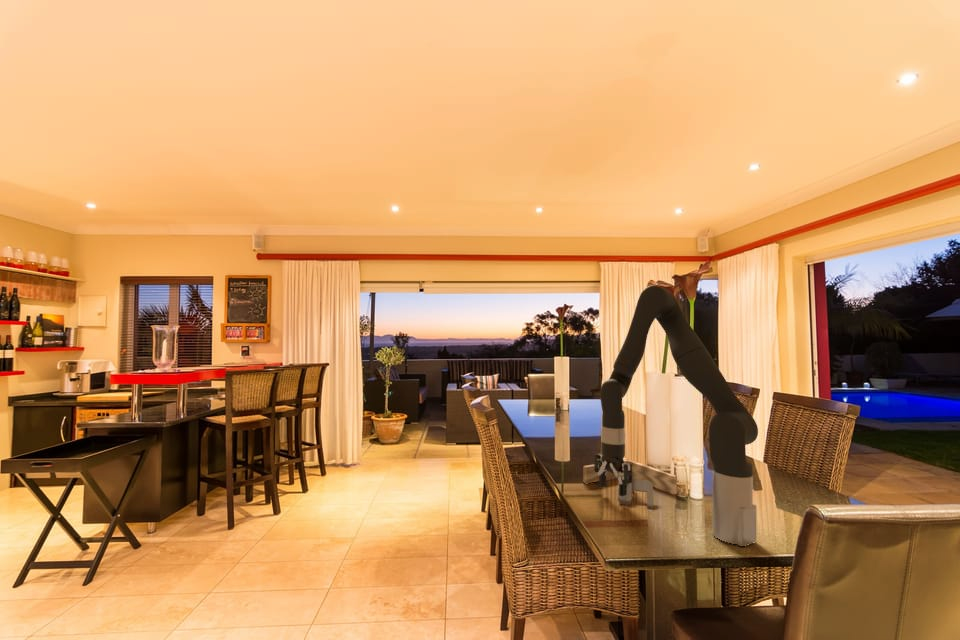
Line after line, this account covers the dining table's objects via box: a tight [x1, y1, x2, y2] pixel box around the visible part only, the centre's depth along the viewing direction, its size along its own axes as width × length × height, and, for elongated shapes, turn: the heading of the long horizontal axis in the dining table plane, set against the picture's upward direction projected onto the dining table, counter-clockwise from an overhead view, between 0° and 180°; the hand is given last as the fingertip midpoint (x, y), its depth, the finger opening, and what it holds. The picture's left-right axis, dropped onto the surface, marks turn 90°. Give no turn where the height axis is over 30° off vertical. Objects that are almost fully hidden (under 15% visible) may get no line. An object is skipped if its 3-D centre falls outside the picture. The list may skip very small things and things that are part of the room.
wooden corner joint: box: [582, 457, 677, 495], centre depth 152 cm, size 24×22×6 cm
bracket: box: [617, 472, 654, 509], centre depth 143 cm, size 10×14×10 cm
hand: (612, 491), depth 141 cm, fingers open, 8 cm apart
